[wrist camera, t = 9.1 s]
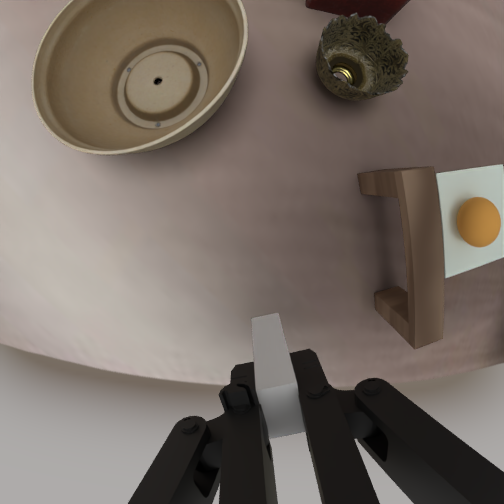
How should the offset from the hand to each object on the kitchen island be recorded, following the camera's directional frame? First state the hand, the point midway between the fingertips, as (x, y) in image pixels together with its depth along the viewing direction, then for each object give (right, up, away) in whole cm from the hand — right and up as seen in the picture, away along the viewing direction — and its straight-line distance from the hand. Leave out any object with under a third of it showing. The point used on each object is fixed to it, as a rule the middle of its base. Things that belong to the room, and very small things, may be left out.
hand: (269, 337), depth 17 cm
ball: (+24, +8, +10) cm, 27 cm away
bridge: (+12, +6, +13) cm, 19 cm away
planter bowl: (-10, +21, +10) cm, 25 cm away
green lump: (+8, +22, +10) cm, 25 cm away
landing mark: (+26, +9, +13) cm, 30 cm away
